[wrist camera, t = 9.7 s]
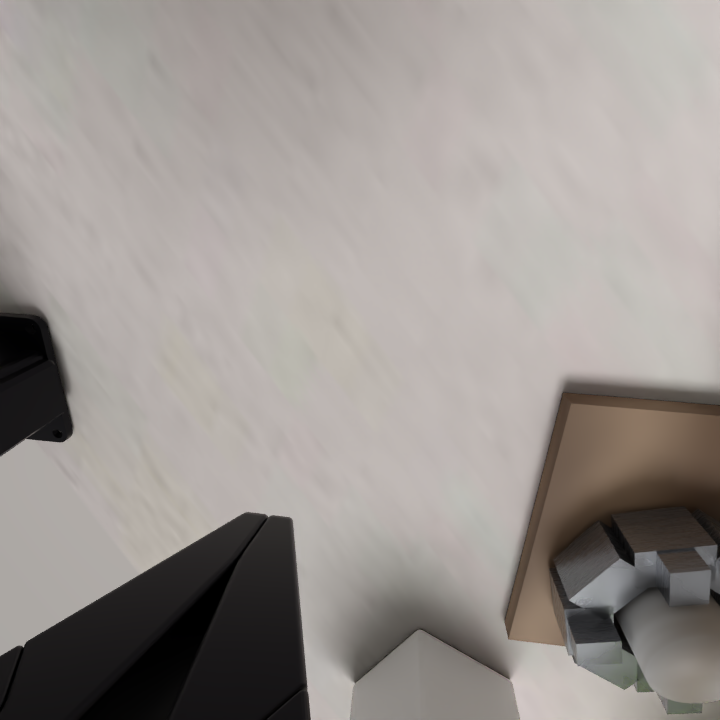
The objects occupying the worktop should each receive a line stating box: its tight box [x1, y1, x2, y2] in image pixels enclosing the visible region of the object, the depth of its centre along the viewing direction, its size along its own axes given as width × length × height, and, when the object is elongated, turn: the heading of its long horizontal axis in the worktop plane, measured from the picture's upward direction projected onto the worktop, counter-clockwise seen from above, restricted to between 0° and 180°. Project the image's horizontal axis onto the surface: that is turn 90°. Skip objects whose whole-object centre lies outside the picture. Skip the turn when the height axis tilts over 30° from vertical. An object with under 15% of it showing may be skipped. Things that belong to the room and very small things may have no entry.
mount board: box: [505, 393, 720, 703], centre depth 19 cm, size 11×14×5 cm
